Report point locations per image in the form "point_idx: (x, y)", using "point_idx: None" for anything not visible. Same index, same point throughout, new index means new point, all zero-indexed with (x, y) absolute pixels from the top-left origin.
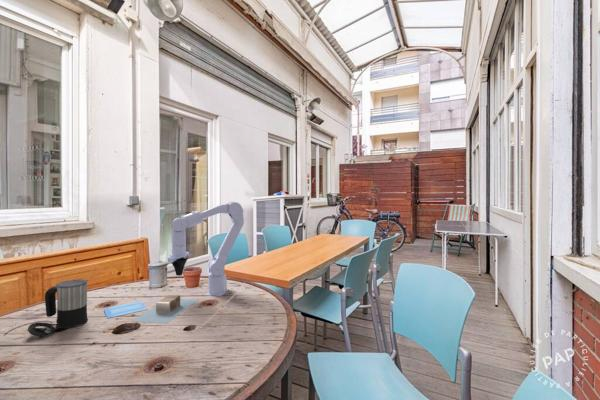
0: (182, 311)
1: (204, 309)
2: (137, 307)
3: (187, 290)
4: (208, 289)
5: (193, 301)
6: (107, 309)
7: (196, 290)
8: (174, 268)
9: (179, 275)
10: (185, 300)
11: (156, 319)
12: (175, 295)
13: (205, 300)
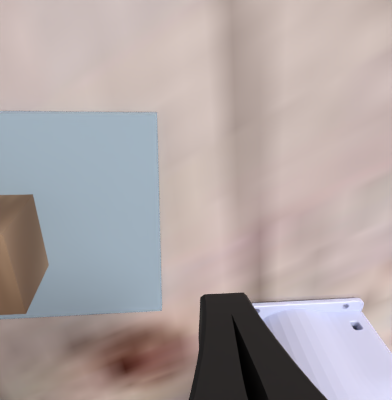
0: None
1: (52, 374)
2: None
3: (370, 148)
4: (279, 333)
5: (126, 301)
6: None
7: (360, 211)
8: (190, 395)
9: (199, 331)
10: (133, 254)
11: None
12: (14, 284)
13: (173, 331)
